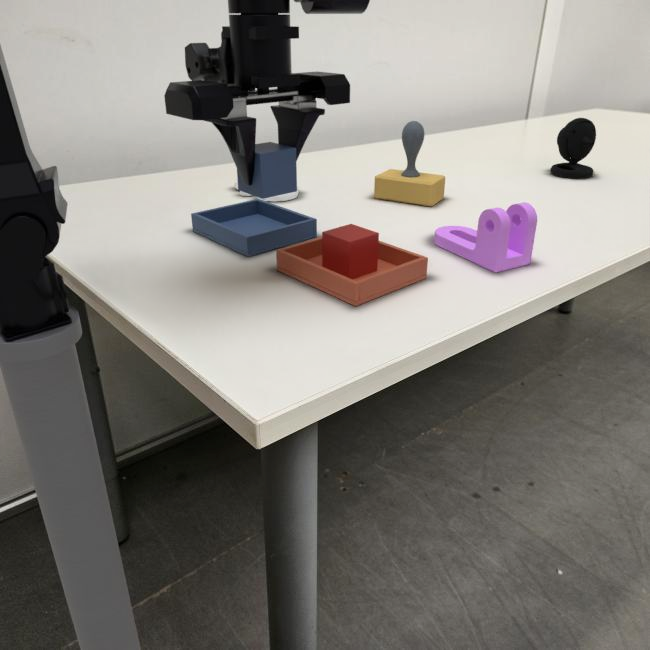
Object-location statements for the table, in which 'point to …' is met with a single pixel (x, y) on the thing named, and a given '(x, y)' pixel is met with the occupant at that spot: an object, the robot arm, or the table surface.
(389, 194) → the rubber stamp
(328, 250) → the red block
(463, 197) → the table surface
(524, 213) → the bracket
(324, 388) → the table surface
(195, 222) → the slate tray
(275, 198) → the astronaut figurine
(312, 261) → the terracotta tray
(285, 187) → the blue block
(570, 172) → the webcam
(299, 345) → the table surface
